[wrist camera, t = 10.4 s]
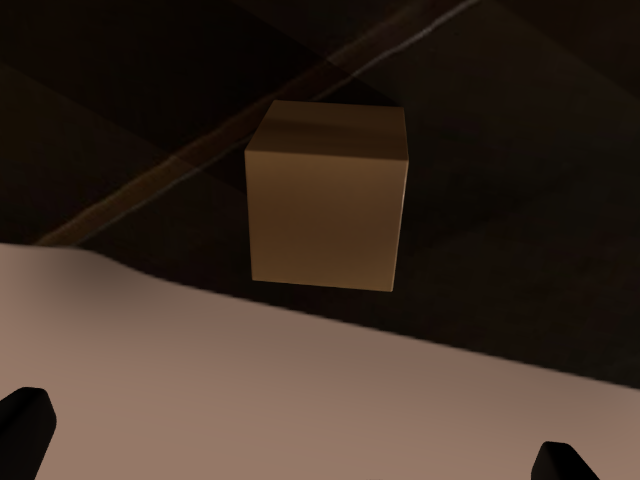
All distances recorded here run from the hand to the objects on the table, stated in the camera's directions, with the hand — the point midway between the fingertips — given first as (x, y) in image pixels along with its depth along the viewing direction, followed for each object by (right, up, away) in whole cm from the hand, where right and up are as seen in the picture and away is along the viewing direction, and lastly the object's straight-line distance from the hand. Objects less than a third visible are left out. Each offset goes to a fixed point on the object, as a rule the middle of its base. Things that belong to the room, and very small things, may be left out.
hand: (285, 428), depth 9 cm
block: (+1, +6, +10) cm, 12 cm away
